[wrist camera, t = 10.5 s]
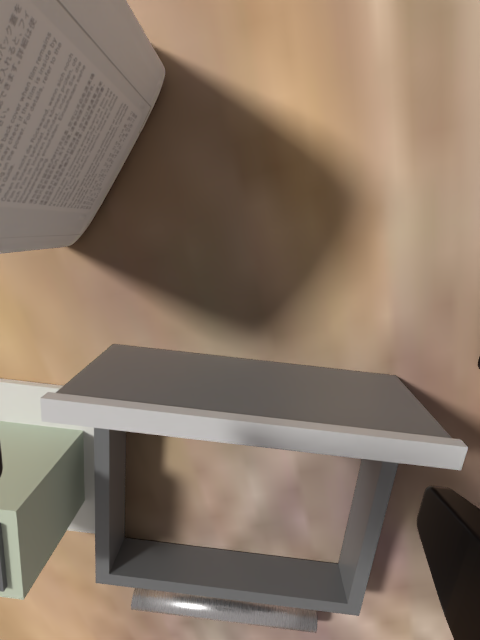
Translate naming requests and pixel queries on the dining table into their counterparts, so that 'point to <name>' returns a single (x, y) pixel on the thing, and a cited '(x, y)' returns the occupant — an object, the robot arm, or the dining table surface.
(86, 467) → the pad
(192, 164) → the dining table surface
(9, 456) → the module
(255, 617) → the rod
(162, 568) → the case base
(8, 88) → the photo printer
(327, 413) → the case lid open
